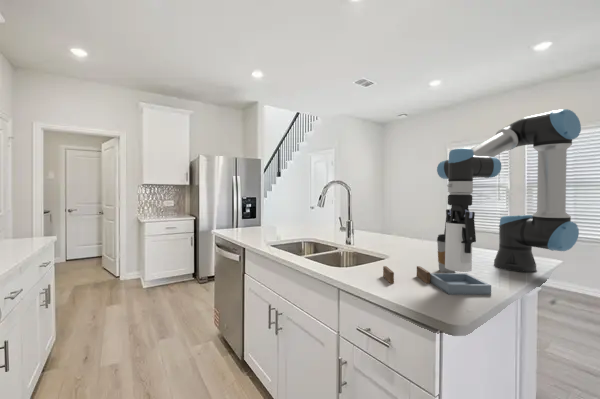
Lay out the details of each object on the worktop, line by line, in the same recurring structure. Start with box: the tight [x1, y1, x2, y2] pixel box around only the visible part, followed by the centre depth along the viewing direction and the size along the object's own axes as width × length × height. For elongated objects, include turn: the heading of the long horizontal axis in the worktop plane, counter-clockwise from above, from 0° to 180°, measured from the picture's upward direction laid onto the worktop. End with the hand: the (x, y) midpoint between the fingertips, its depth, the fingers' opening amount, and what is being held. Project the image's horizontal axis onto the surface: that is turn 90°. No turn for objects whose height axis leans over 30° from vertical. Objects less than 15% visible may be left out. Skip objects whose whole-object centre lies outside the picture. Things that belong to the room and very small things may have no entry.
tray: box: [430, 272, 492, 296], centre depth 104 cm, size 14×14×3 cm
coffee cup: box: [436, 233, 456, 273], centre depth 124 cm, size 8×8×15 cm
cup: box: [445, 221, 473, 273], centre depth 103 cm, size 8×8×16 cm
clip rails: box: [382, 265, 431, 284], centre depth 112 cm, size 14×9×4 cm, turn 91°
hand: (458, 259), depth 103 cm, fingers closed on cup, 8 cm apart
